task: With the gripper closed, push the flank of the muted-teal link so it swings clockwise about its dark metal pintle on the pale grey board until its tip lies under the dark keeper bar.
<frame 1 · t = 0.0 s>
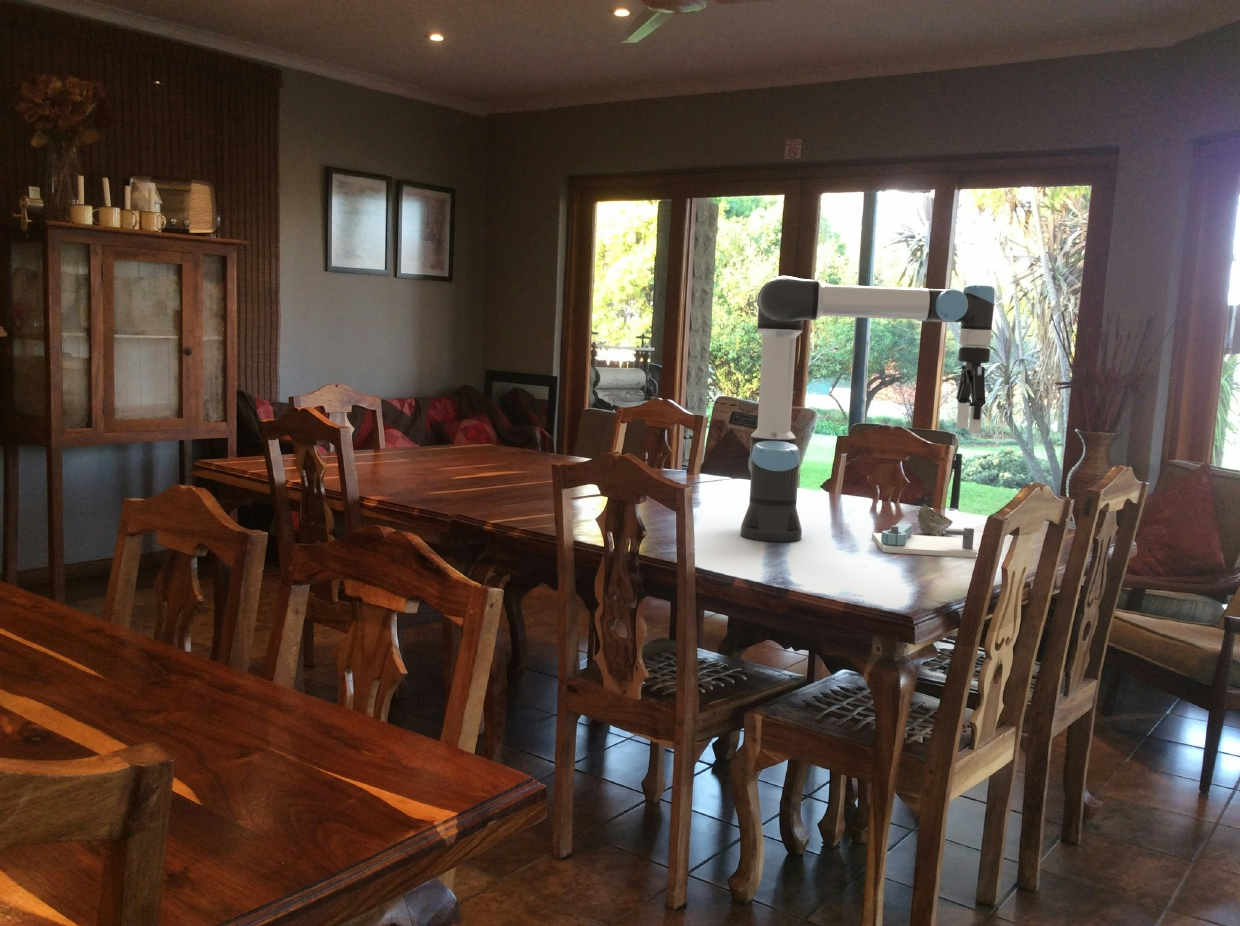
hand: (967, 430, 274), 28 cm above the table, fingers open, 13 cm apart
link: (898, 533, 264), point 3 cm above the table, hinge at 0.0°
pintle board: (923, 547, 263), on the table
rock: (936, 535, 281), on the table
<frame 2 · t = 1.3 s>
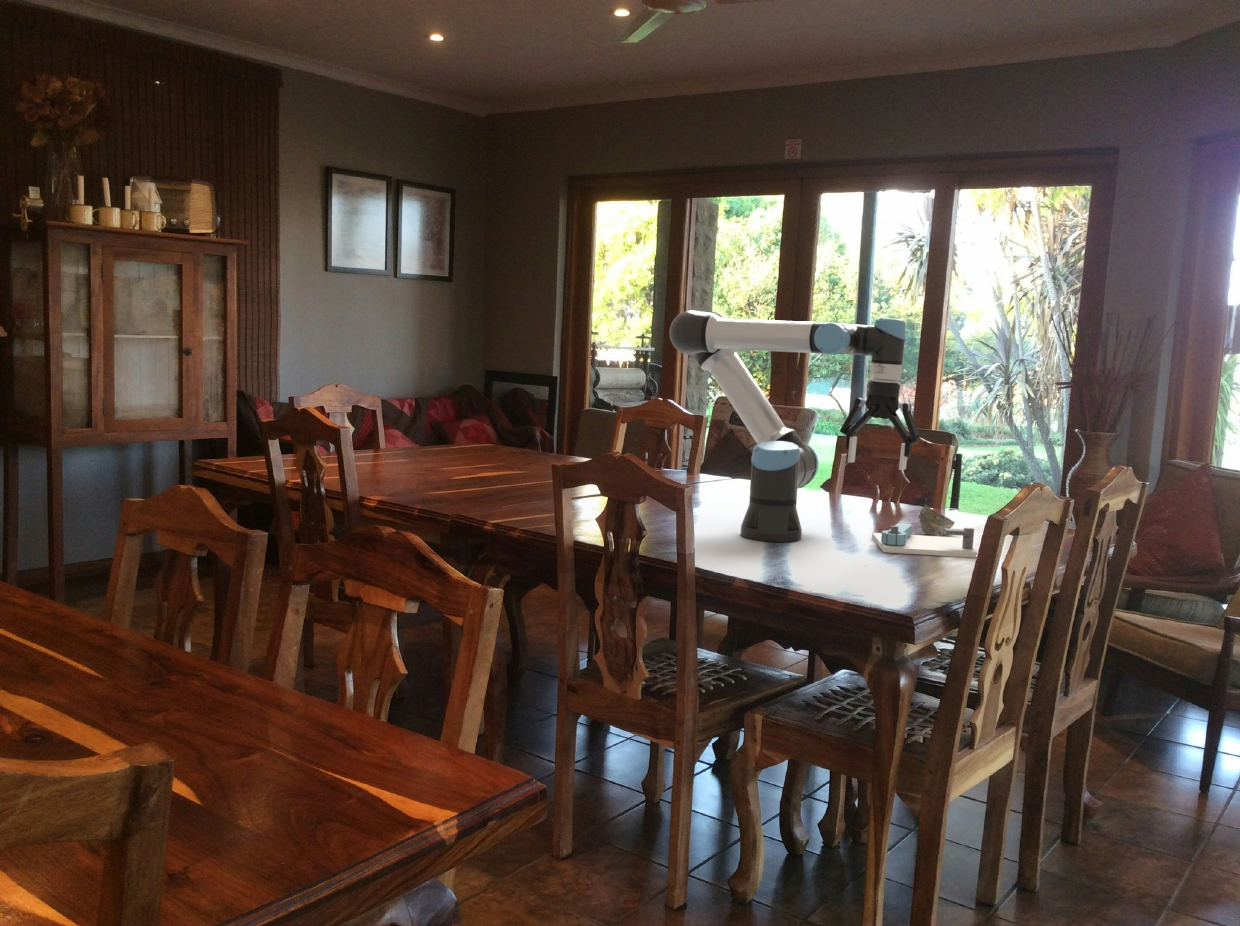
hand: (876, 466, 268), 19 cm above the table, fingers open, 13 cm apart
rock: (937, 536, 280), on the table
everything else where it was.
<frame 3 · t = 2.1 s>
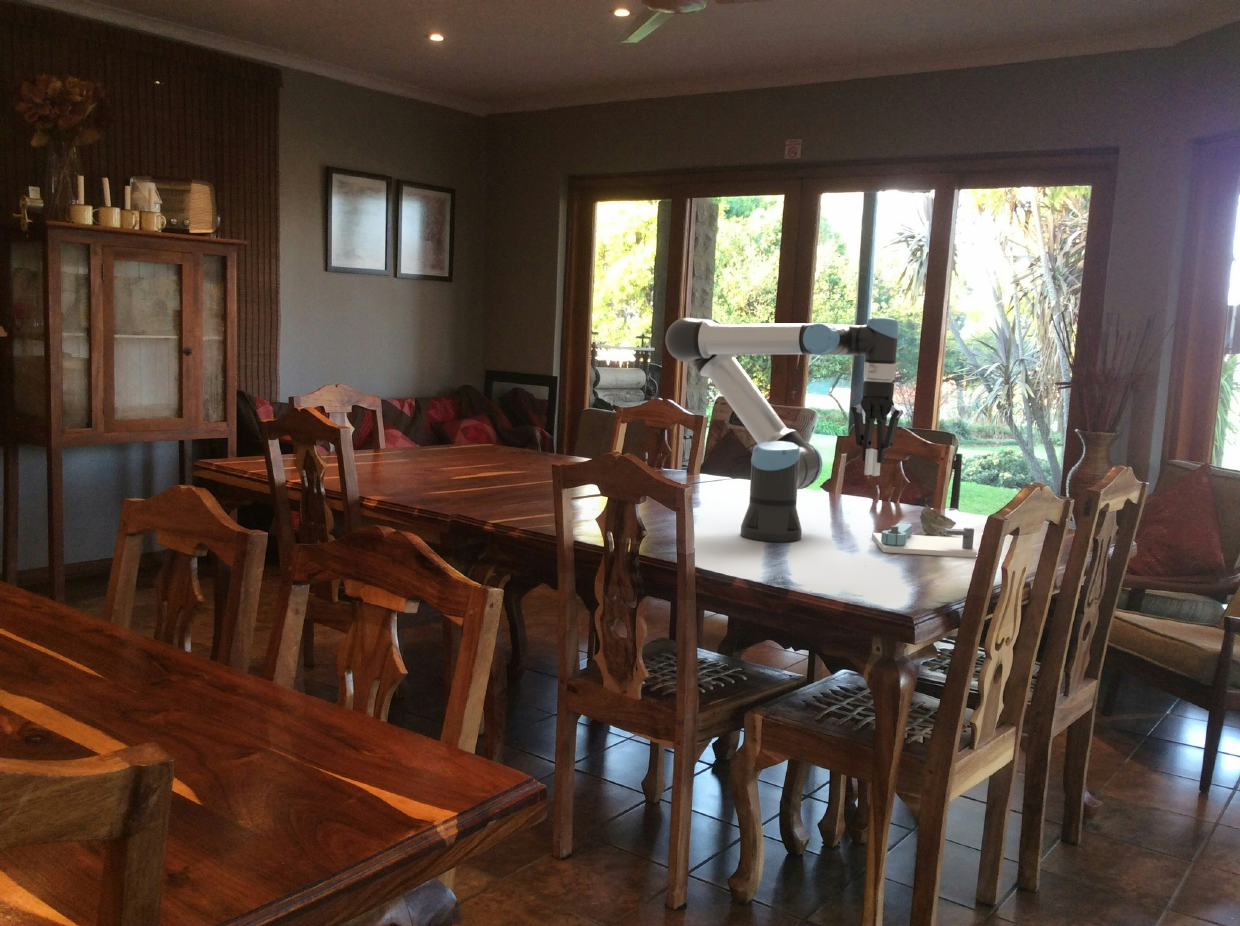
hand: (871, 475, 267), 16 cm above the table, fingers closed
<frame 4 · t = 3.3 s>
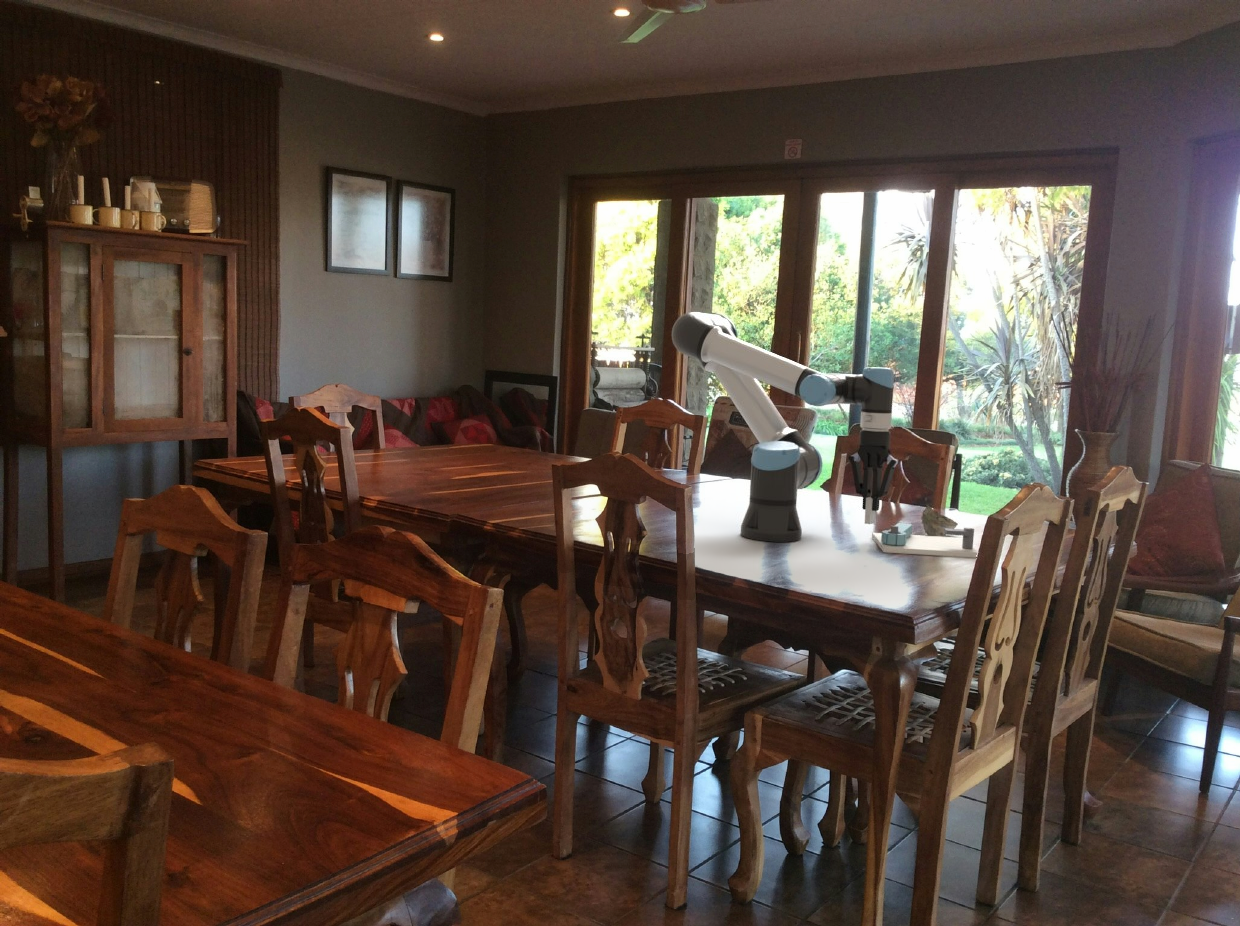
hand: (869, 523, 269), 4 cm above the table, fingers closed
rock: (940, 537, 278), on the table
everything else where it was.
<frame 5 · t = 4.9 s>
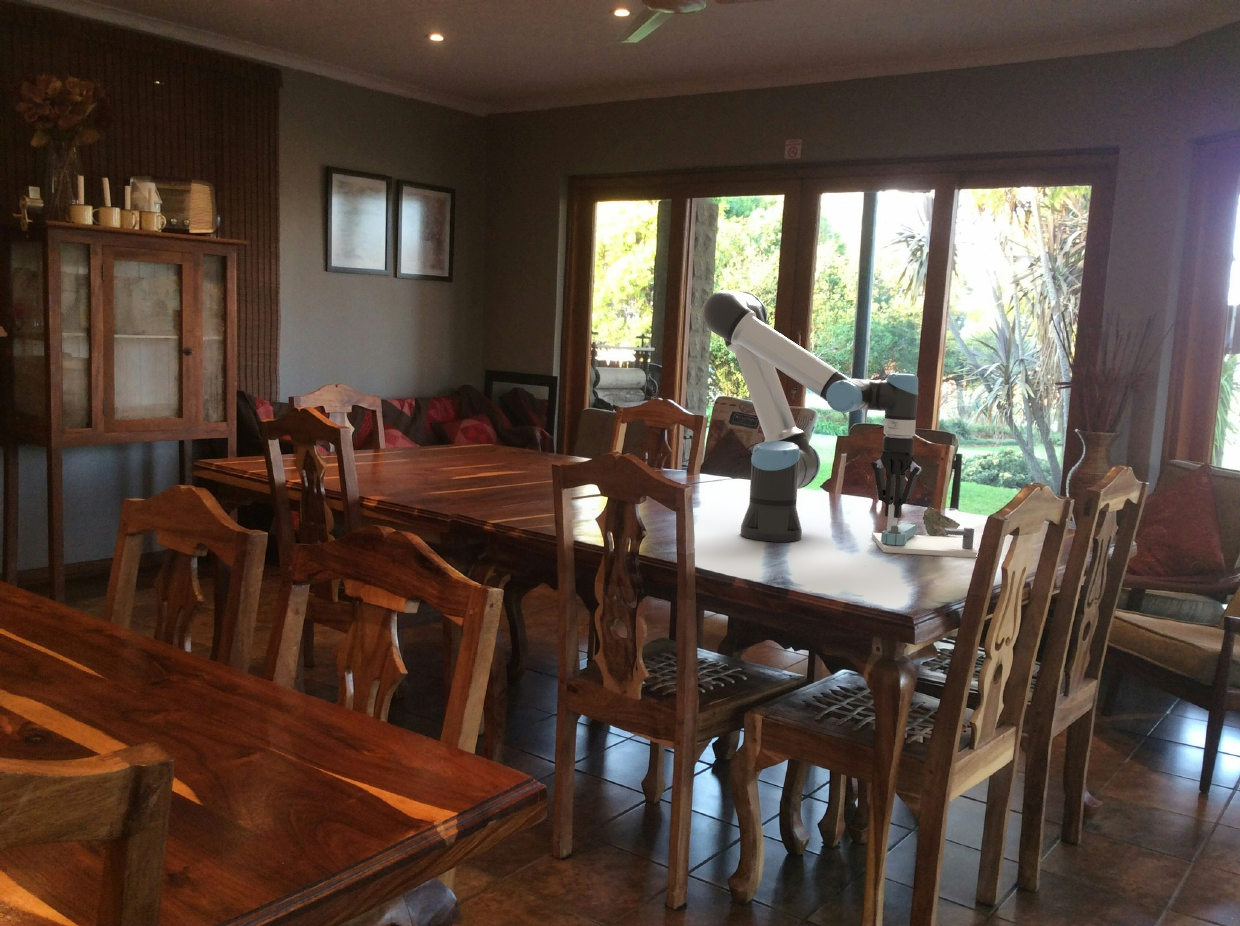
hand: (891, 530, 267), 3 cm above the table, fingers closed
link: (900, 533, 264), point 3 cm above the table, hinge at -3.5°, touching gripper
rock: (942, 538, 277), on the table
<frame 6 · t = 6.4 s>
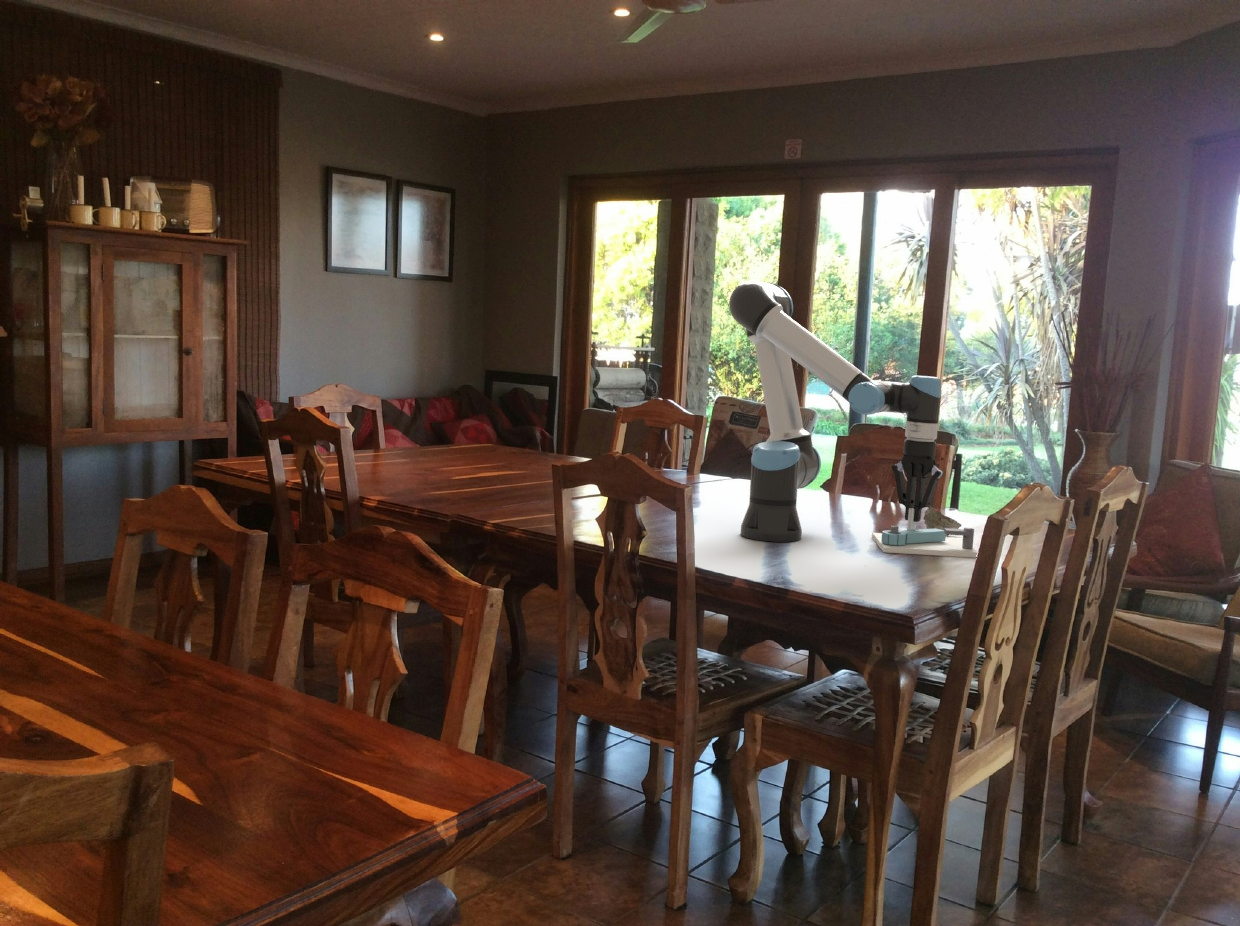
hand: (911, 533, 265), 3 cm above the table, fingers closed
link: (913, 536, 261), point 3 cm above the table, hinge at -38.1°, touching gripper
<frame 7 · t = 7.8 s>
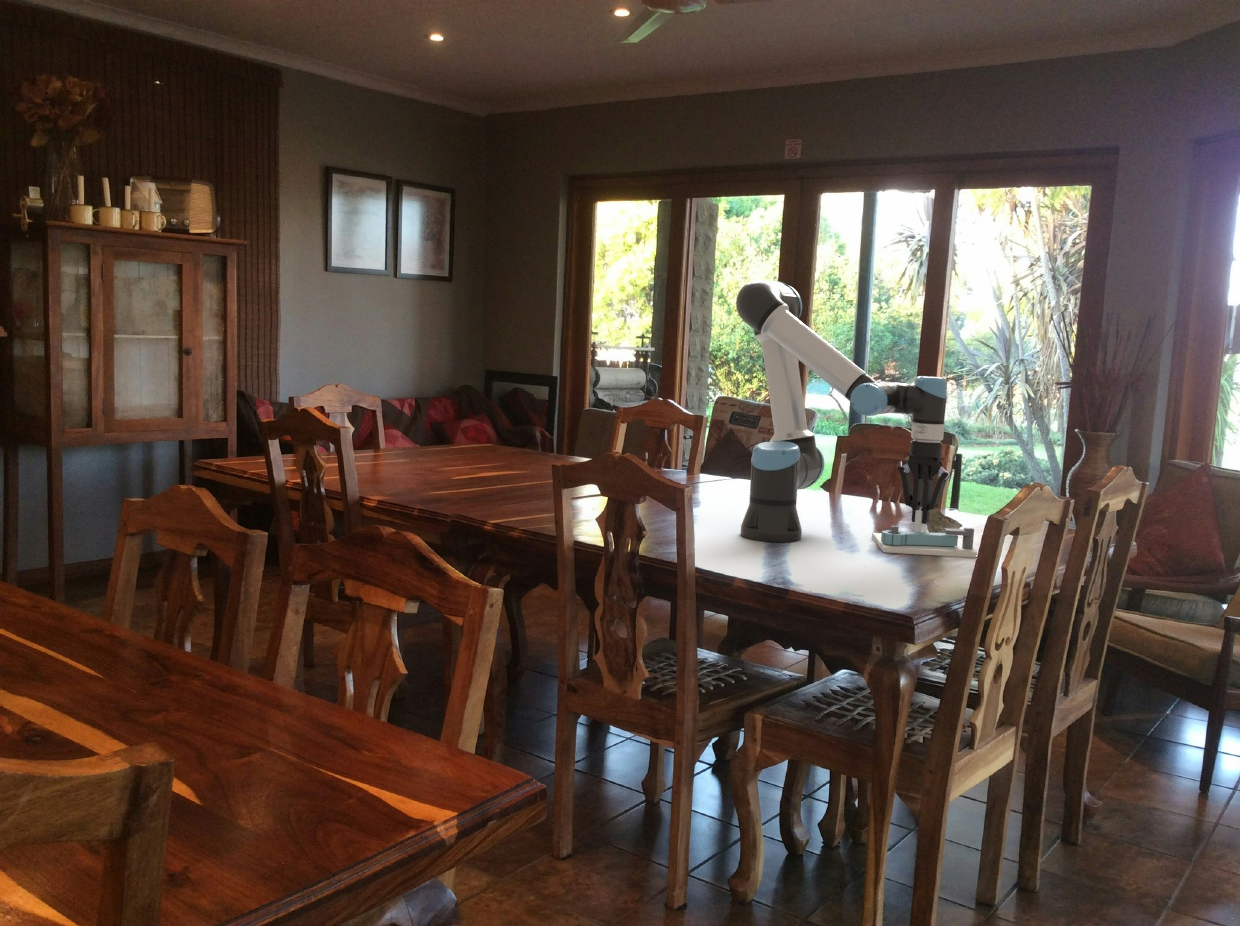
hand: (918, 536, 262), 3 cm above the table, fingers closed
link: (918, 538, 259), point 3 cm above the table, hinge at -62.9°
everything else where it was.
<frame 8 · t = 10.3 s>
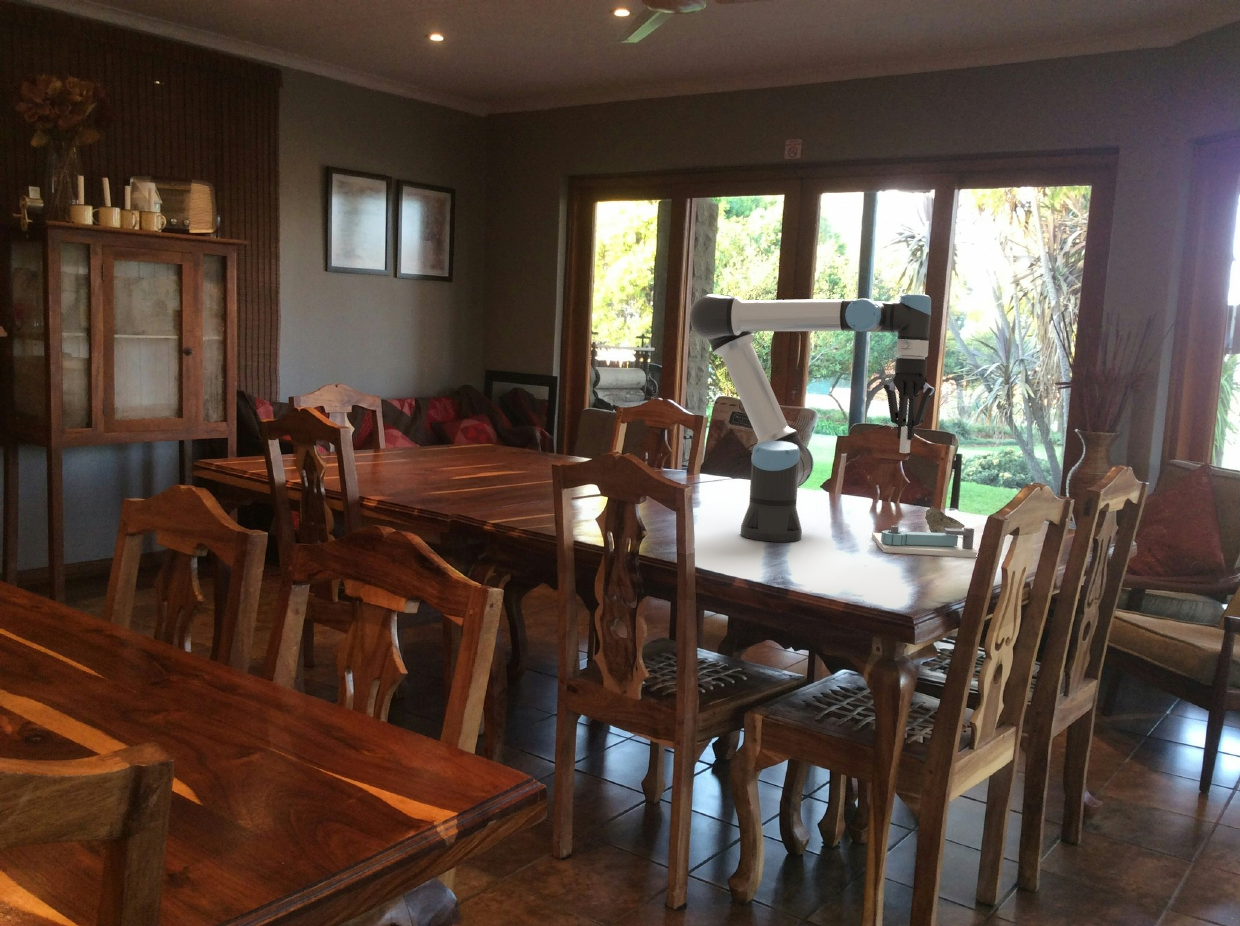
hand: (904, 452, 267), 22 cm above the table, fingers closed
at the end: link at -63° (first picture: +0°) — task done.
